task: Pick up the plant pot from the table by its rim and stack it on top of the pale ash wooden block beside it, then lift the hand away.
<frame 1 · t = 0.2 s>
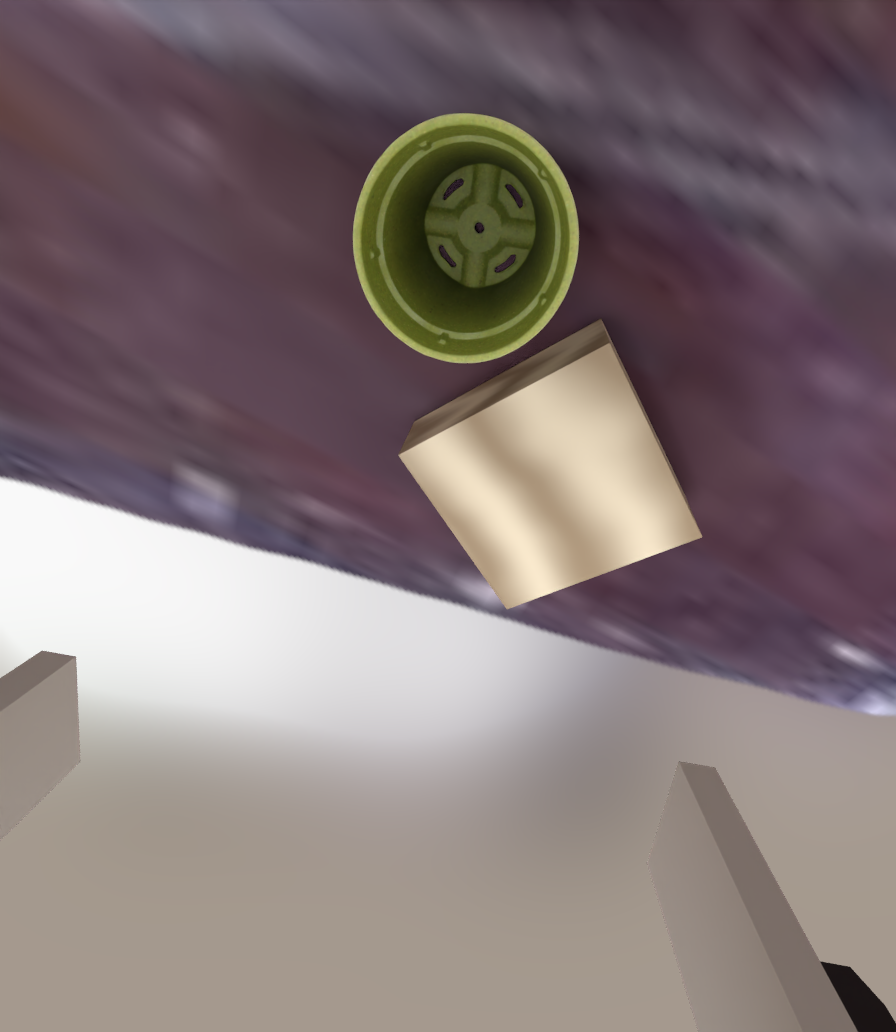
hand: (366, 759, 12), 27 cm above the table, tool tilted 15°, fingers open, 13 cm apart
plant pot: (481, 228, 31), on the table
ash block: (549, 458, 38), on the table
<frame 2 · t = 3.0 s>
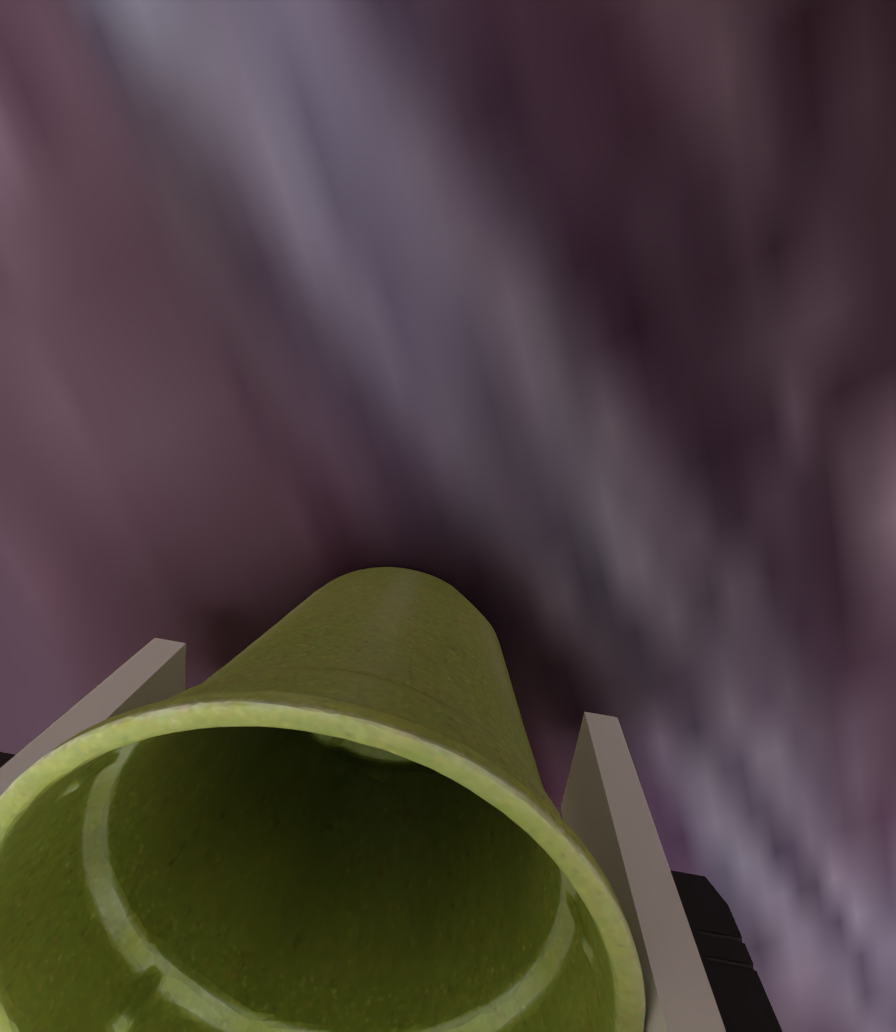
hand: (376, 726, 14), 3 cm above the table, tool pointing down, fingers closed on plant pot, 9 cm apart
plant pot: (395, 664, 16), on the table, touching gripper
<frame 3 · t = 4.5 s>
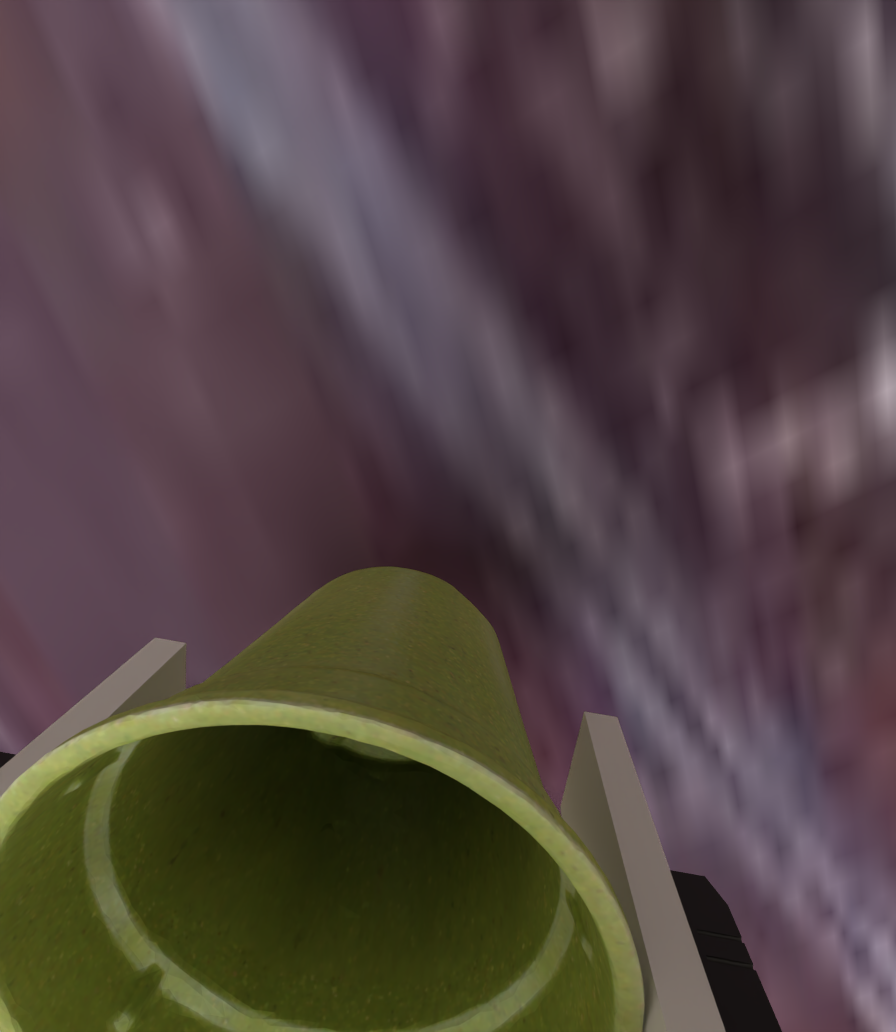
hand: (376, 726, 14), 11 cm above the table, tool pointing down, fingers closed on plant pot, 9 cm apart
plant pot: (395, 663, 16), point 8 cm above the table, touching gripper
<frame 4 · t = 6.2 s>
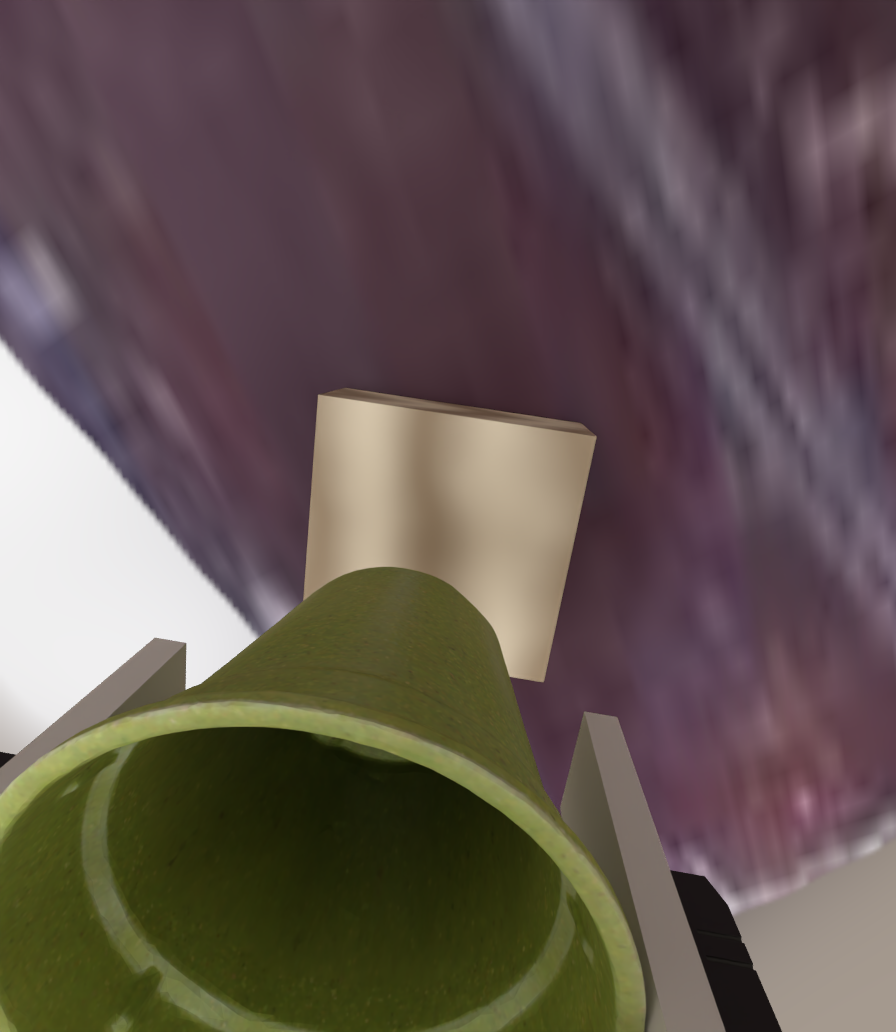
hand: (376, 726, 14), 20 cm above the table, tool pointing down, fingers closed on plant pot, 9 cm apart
plant pot: (395, 664, 16), point 17 cm above the table, touching gripper
ash block: (445, 518, 33), on the table
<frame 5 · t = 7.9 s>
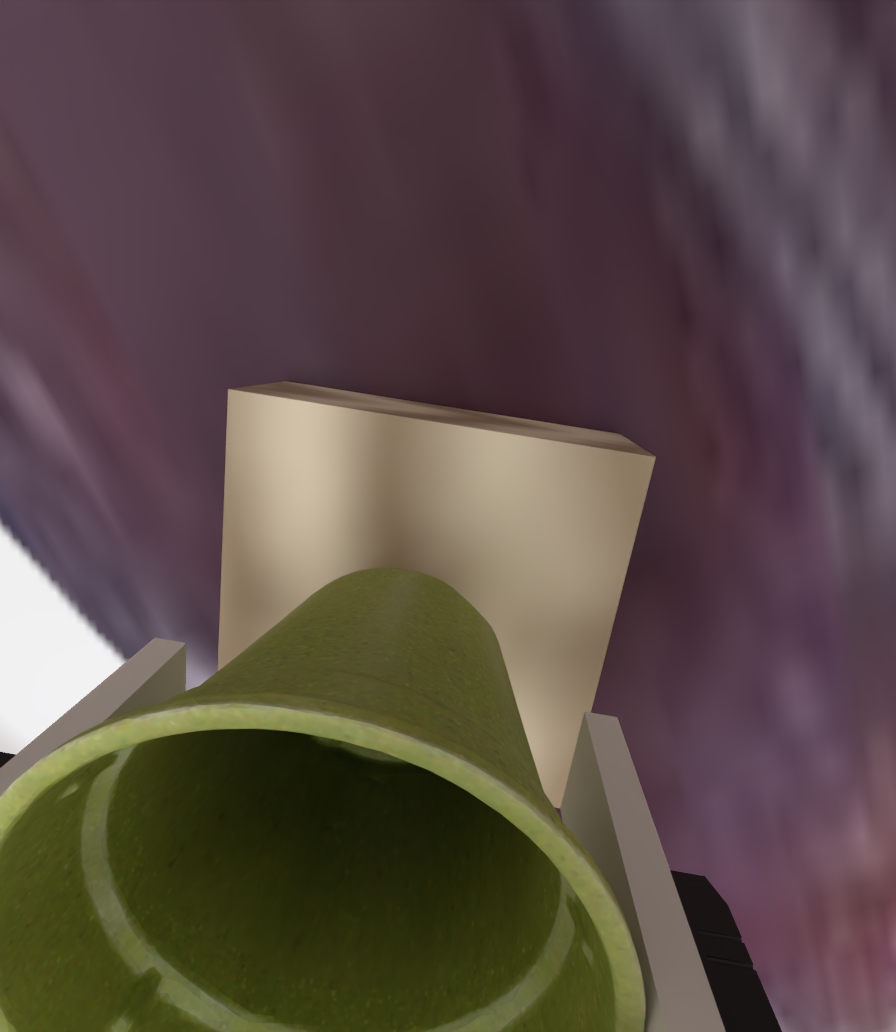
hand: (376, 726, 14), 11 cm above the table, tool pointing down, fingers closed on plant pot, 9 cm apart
plant pot: (395, 665, 16), point 8 cm above the table, touching gripper
ash block: (428, 563, 24), on the table
when the fingers open (8 cm above the table, at t = 9.4 s): plant pot stays where it is, resting on ash block.
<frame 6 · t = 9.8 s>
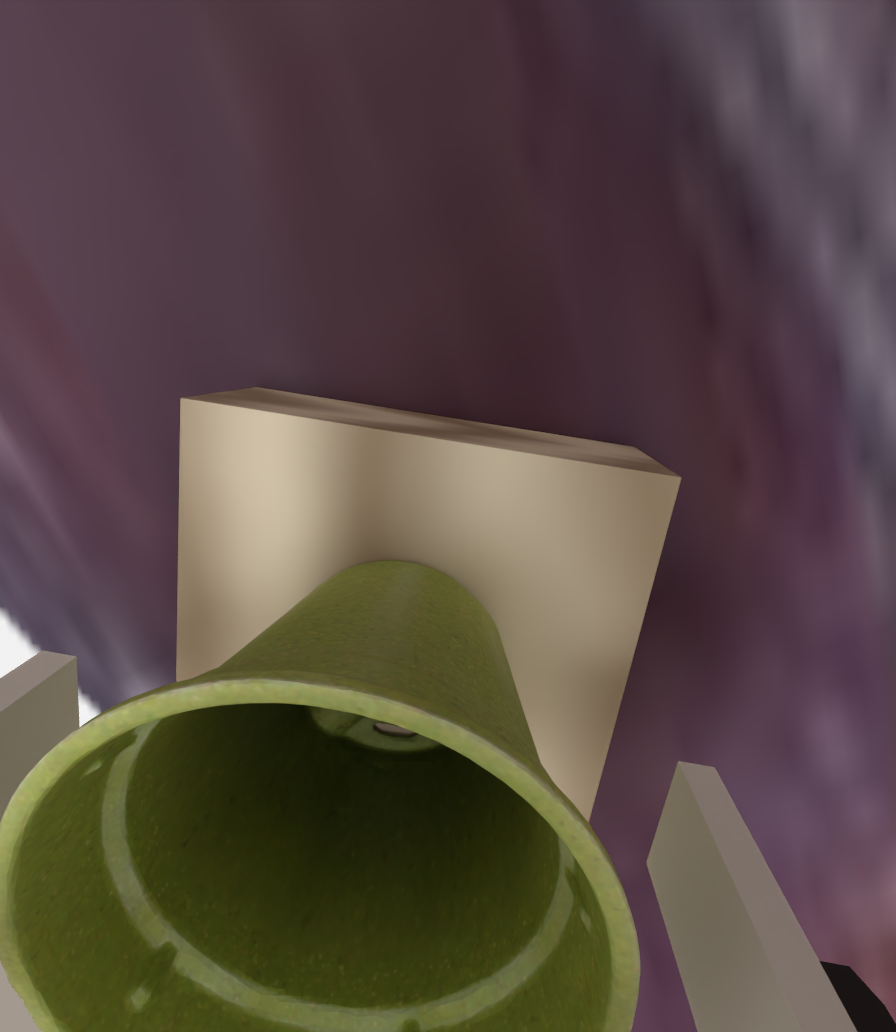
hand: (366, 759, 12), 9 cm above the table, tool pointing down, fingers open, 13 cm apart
plant pot: (398, 655, 17), point 5 cm above the table, touching ash block
ash block: (418, 591, 21), on the table
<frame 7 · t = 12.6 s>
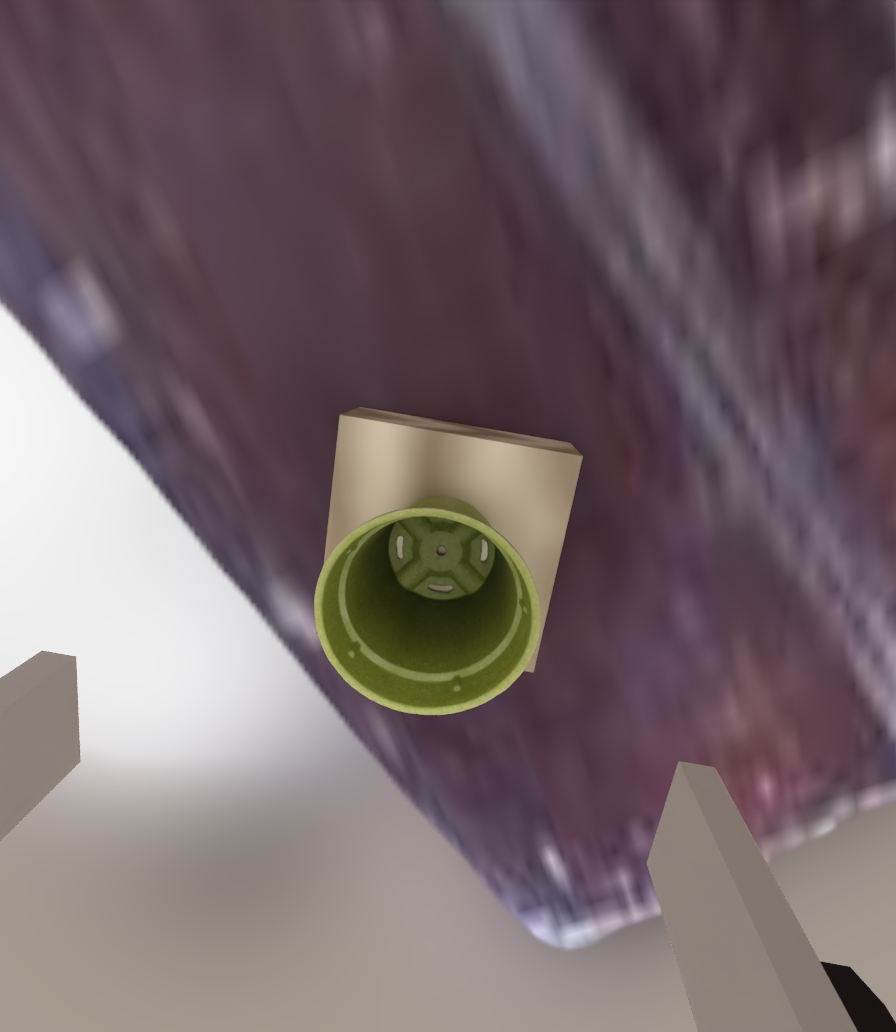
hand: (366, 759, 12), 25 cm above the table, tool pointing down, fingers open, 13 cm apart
plant pot: (442, 548, 32), point 5 cm above the table, touching ash block
ash block: (447, 525, 37), on the table
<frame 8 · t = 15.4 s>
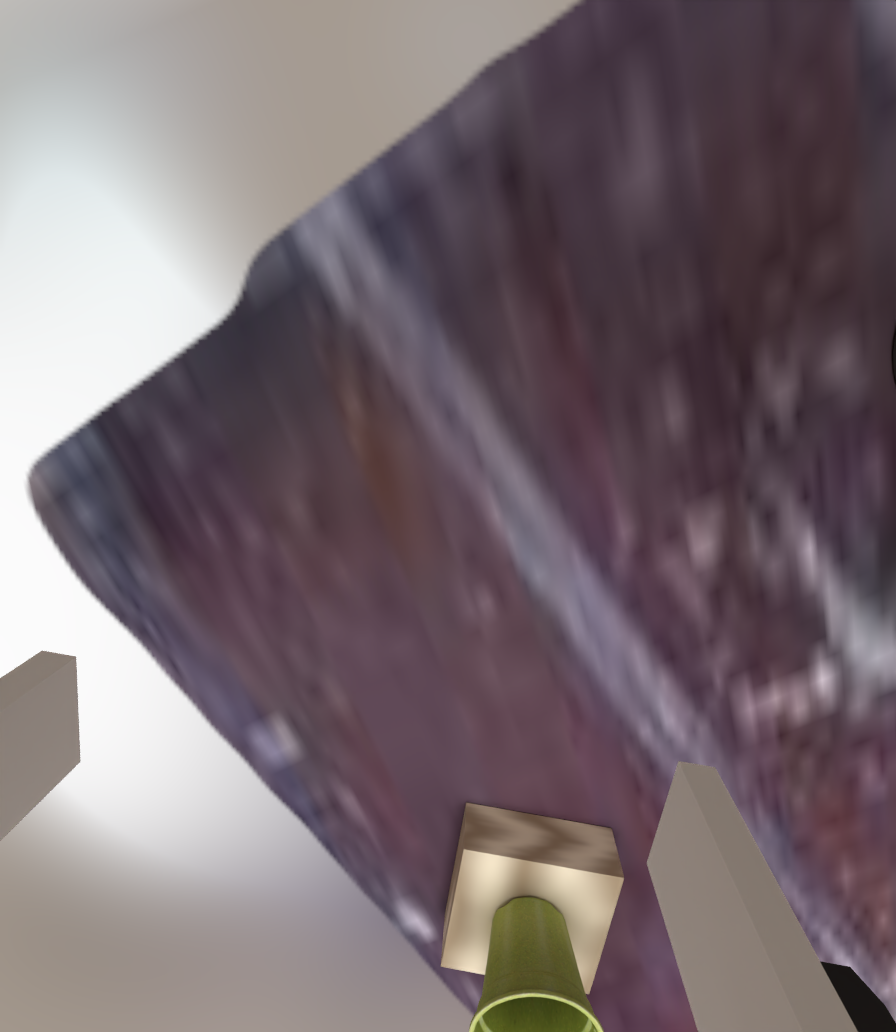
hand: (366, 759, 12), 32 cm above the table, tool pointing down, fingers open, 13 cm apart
plant pot: (528, 921, 48), point 5 cm above the table, touching ash block
ash block: (525, 872, 53), on the table
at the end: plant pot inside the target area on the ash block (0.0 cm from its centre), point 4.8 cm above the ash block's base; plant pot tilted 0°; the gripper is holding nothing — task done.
